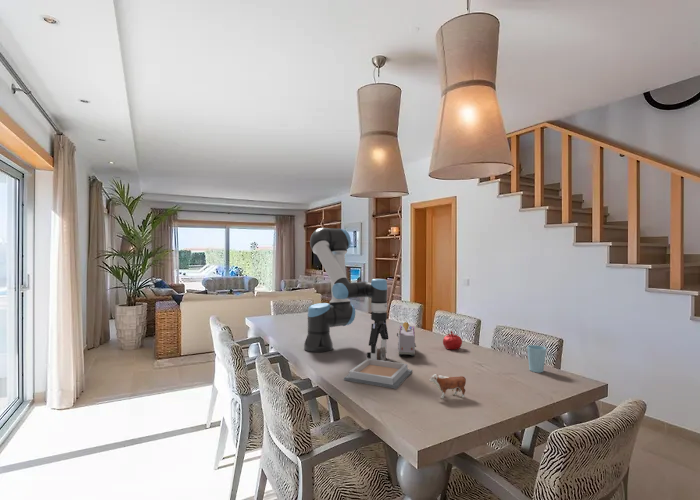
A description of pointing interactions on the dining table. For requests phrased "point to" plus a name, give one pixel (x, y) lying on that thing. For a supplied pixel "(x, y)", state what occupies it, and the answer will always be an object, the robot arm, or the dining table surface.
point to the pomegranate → (452, 341)
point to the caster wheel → (379, 354)
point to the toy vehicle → (406, 340)
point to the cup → (536, 358)
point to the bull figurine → (449, 384)
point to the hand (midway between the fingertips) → (378, 356)
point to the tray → (379, 373)
